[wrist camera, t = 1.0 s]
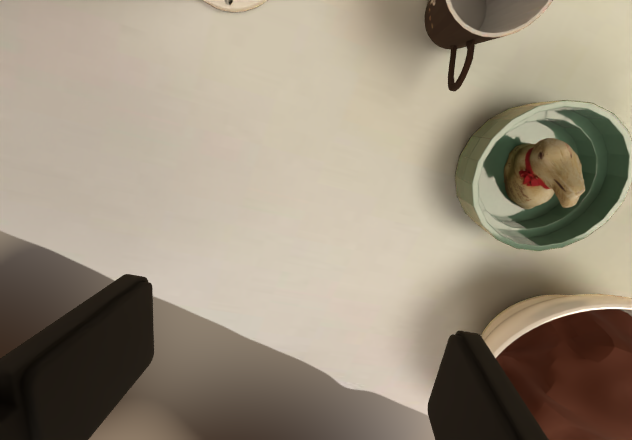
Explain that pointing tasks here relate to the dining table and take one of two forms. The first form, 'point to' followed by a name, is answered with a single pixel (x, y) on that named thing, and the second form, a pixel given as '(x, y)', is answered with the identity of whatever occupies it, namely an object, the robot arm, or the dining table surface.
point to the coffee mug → (476, 25)
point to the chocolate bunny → (543, 174)
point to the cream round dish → (569, 362)
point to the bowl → (550, 217)
